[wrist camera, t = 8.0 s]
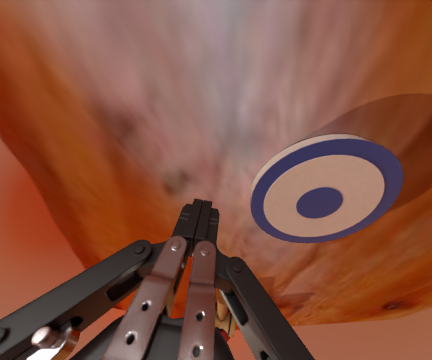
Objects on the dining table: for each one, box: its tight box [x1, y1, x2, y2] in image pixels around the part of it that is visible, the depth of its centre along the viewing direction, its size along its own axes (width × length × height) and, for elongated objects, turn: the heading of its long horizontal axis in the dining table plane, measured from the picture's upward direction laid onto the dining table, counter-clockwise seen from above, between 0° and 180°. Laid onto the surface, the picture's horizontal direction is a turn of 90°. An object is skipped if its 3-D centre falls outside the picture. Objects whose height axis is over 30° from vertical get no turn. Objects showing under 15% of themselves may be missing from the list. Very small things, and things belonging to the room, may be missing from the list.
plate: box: [250, 134, 403, 243], centre depth 17 cm, size 14×14×1 cm
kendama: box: [215, 291, 236, 342], centre depth 36 cm, size 8×6×18 cm
